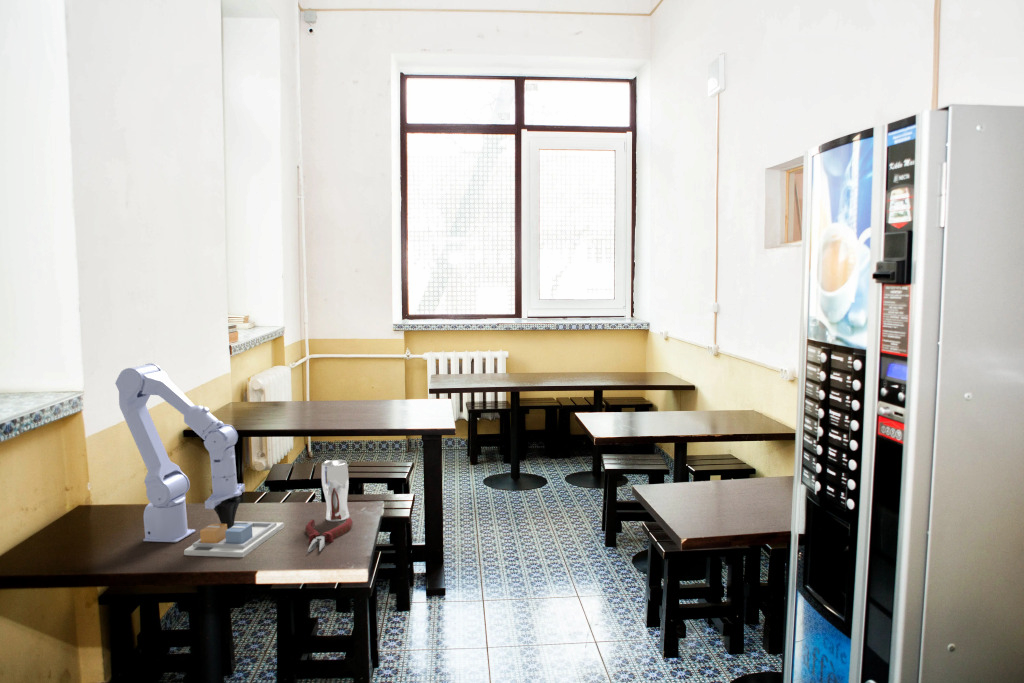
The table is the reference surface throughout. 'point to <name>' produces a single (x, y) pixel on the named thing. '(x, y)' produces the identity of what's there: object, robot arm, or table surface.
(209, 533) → the orange white-striped block
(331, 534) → the pliers
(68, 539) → the table surface
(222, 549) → the white flat tray
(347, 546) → the table surface
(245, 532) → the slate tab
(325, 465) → the beer glass
